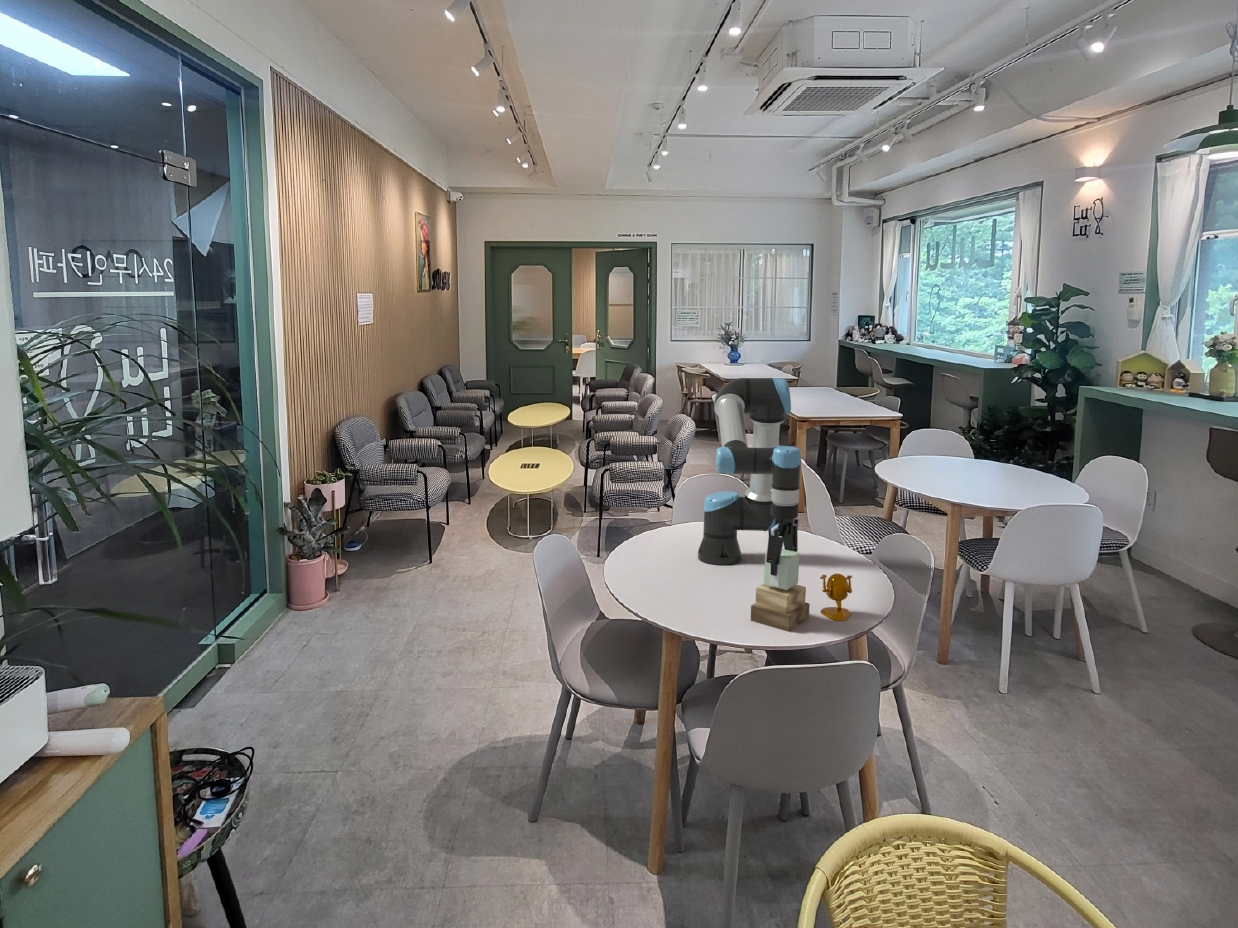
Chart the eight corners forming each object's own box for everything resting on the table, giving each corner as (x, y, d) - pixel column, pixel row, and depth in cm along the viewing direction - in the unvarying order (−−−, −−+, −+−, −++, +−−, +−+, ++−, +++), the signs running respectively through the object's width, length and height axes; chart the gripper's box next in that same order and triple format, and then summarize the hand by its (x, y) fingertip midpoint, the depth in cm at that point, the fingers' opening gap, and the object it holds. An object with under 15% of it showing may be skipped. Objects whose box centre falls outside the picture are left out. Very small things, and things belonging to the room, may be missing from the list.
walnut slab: (771, 609, 240) (772, 593, 239) (808, 619, 232) (809, 603, 231) (750, 622, 231) (751, 605, 229) (788, 633, 223) (789, 615, 222)
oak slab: (774, 594, 238) (775, 578, 237) (805, 603, 231) (805, 587, 230) (755, 604, 230) (756, 587, 229) (786, 613, 224) (787, 596, 223)
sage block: (775, 577, 234) (776, 547, 232) (797, 583, 230) (799, 552, 228) (763, 584, 228) (765, 553, 227) (786, 589, 224) (788, 558, 222)
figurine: (847, 607, 240) (849, 568, 238) (855, 621, 230) (858, 581, 227) (817, 606, 241) (820, 568, 239) (824, 620, 230) (827, 580, 228)
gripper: (788, 494, 234) (785, 569, 239) (755, 507, 219) (751, 588, 224) (812, 497, 230) (808, 575, 234) (780, 512, 214) (776, 594, 219)
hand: (781, 581), depth 229 cm, fingers closed on sage block, 7 cm apart
